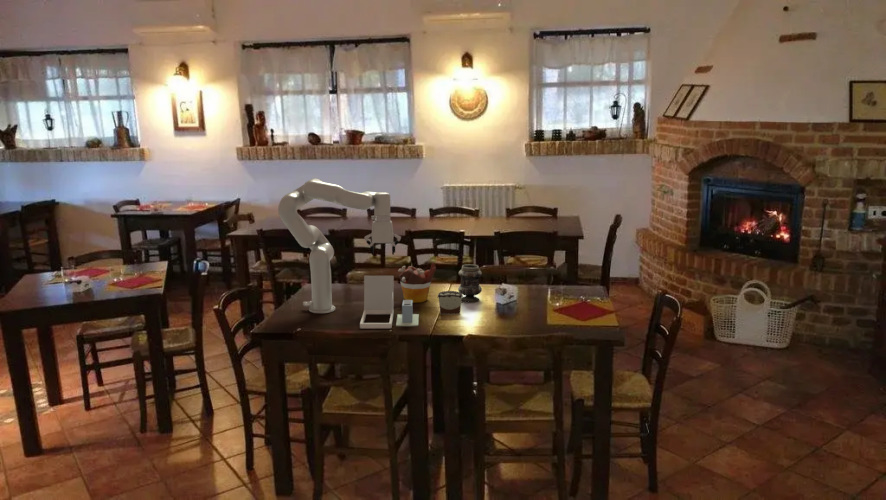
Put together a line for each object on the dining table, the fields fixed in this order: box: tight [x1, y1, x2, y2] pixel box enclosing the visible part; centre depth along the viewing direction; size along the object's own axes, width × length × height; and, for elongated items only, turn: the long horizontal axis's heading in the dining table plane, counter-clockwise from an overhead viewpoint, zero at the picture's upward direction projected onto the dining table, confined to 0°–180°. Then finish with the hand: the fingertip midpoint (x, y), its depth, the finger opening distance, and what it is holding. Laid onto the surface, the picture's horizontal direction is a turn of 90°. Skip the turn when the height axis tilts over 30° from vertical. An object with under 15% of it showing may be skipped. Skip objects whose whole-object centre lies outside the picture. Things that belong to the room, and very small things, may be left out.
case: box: [359, 275, 395, 329], centre depth 316 cm, size 14×26×18 cm, turn 1°
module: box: [401, 299, 414, 322], centre depth 315 cm, size 4×9×8 cm, turn 1°
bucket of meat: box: [397, 262, 437, 304], centre depth 347 cm, size 20×16×20 cm
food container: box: [437, 290, 464, 315], centre depth 328 cm, size 12×6×10 cm, turn 92°
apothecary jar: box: [457, 264, 483, 304], centre depth 348 cm, size 12×12×18 cm
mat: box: [395, 313, 420, 327], centre depth 316 cm, size 10×16×1 cm, turn 1°
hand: (382, 254), depth 325 cm, fingers open, 9 cm apart
